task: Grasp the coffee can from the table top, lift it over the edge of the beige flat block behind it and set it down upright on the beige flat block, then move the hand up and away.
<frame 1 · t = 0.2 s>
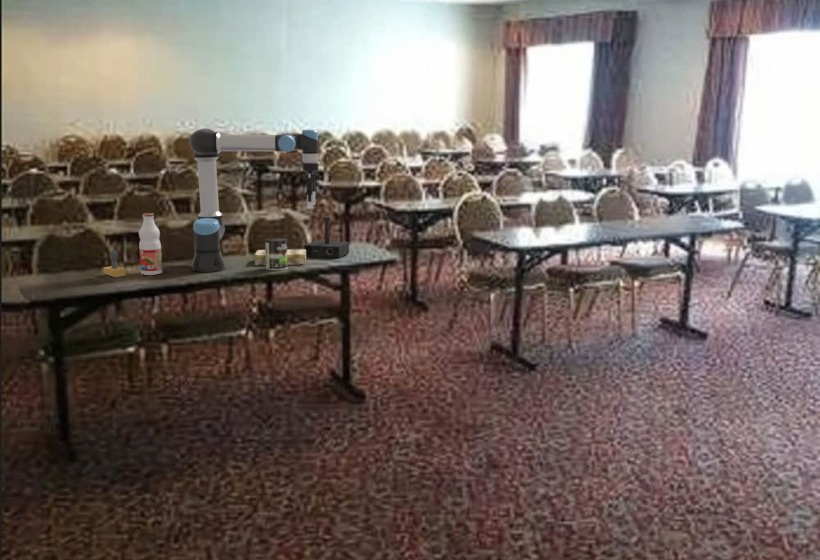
hand: (311, 206, 422), 28 cm above the table, tool pointing down, fingers open, 13 cm apart
rubber stamp: (114, 276, 396), on the table
fruit juice: (151, 274, 399), on the table
coffee can: (276, 268, 414), on the table
beige flat block: (281, 262, 429), on the table
projector: (326, 256, 448), on the table
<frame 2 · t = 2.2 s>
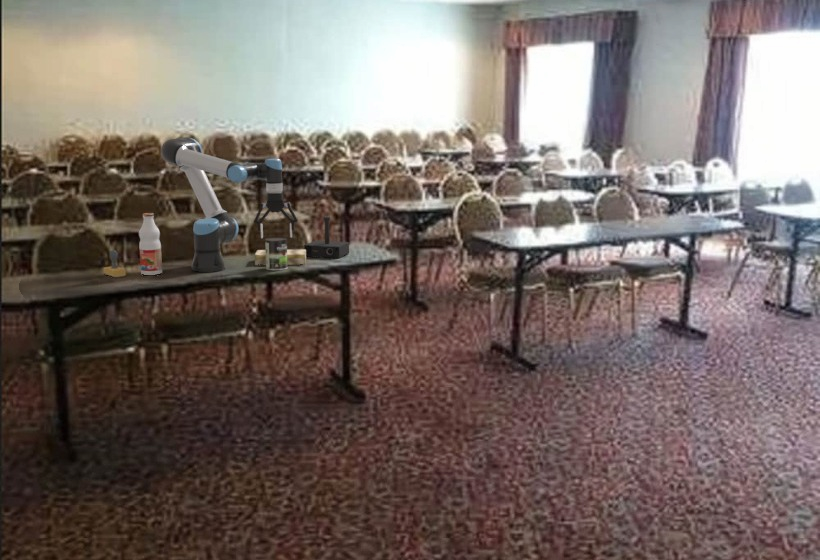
hand: (276, 237, 410), 15 cm above the table, tool pointing down, fingers open, 13 cm apart
nothing on the table moved.
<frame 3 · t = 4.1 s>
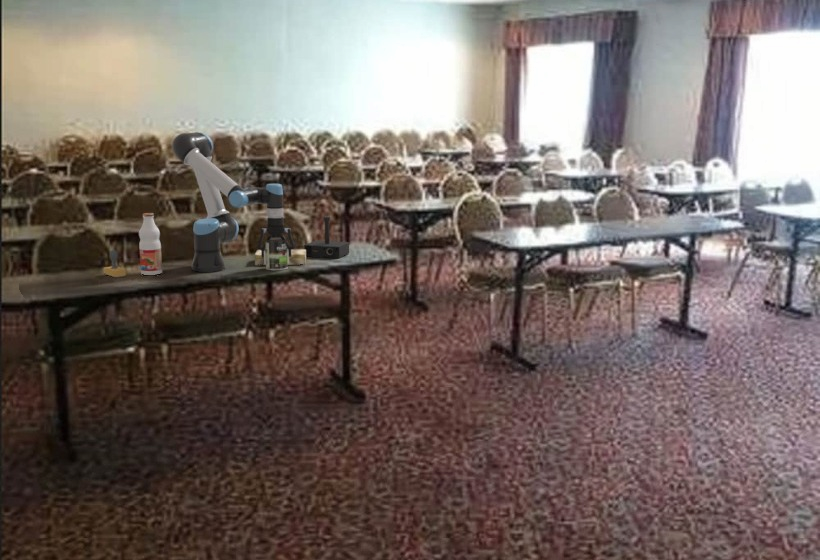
hand: (276, 263, 413), 2 cm above the table, tool pointing down, fingers closed on coffee can, 10 cm apart
coffee can: (276, 268, 414), on the table, touching gripper
everything else where it was.
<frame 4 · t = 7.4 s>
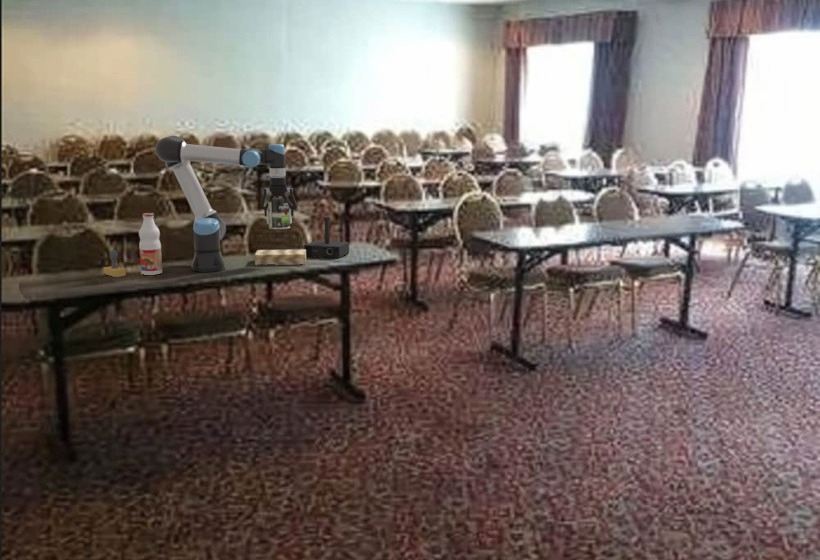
hand: (279, 223, 421), 20 cm above the table, tool pointing down, fingers closed on coffee can, 10 cm apart
coffee can: (279, 228, 422), point 17 cm above the table, touching gripper
everything else where it was.
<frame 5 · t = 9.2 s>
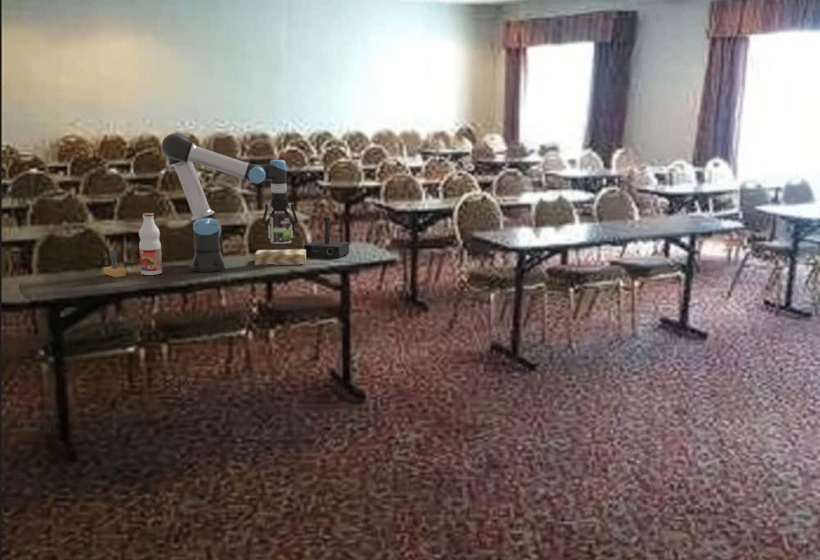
hand: (280, 237, 427), 12 cm above the table, tool pointing down, fingers closed on coffee can, 10 cm apart
coffee can: (280, 242, 427), point 10 cm above the table, touching gripper
everything else where it was.
when the fingers open (9 cm above the table, at t = 10.8 s): coffee can drops 1 cm, resting on beige flat block.
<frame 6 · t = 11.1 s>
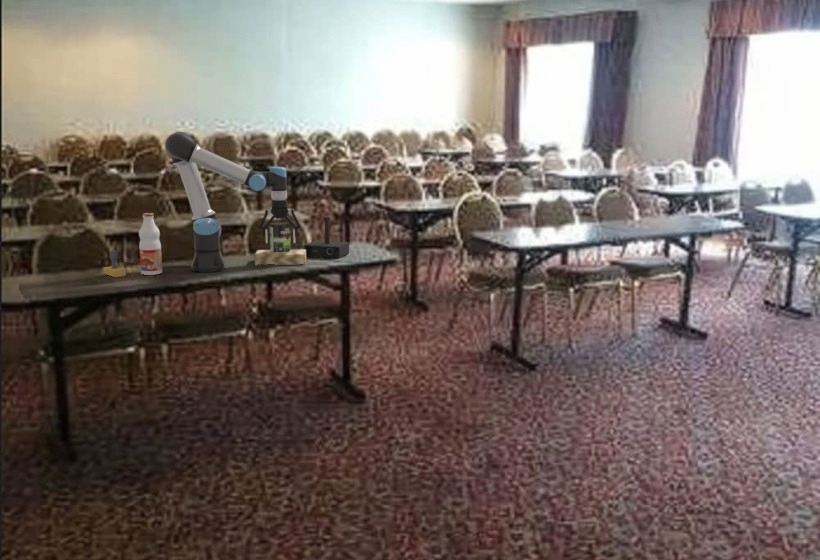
hand: (280, 242, 427), 10 cm above the table, tool pointing down, fingers open, 13 cm apart
coffee can: (280, 252, 428), point 5 cm above the table, touching beige flat block
everything else where it was.
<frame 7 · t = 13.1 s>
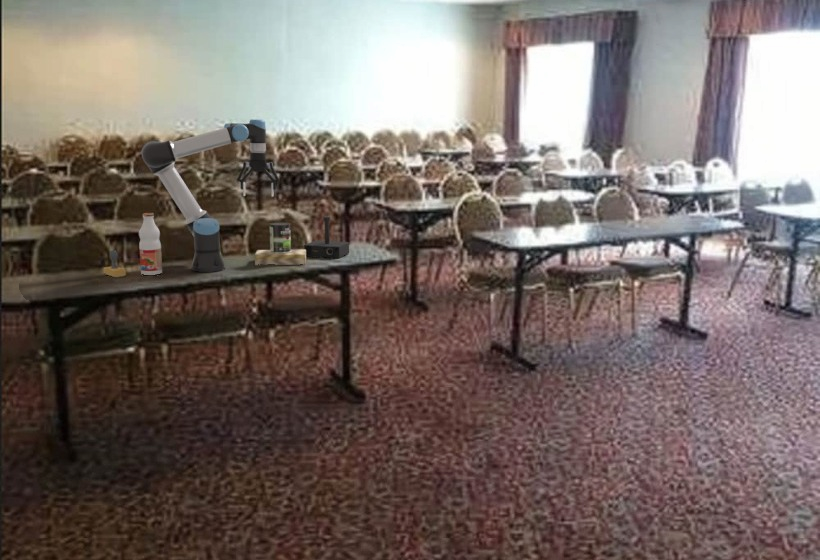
hand: (258, 196, 425), 32 cm above the table, tool pointing down, fingers open, 13 cm apart
nothing on the table moved.
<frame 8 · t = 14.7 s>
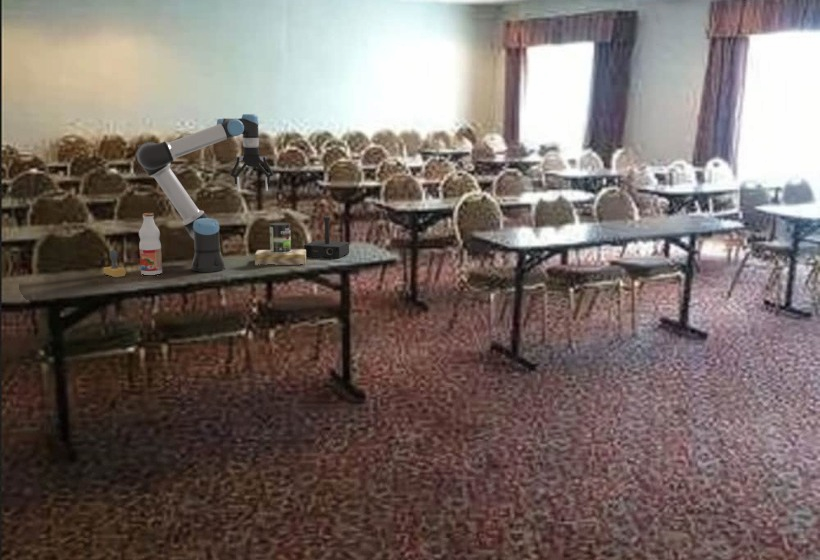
hand: (252, 190, 425), 35 cm above the table, tool pointing down, fingers open, 13 cm apart
nothing on the table moved.
at the end: coffee can inside the target area on the beige flat block (0.0 cm from its centre), point 4.8 cm above the beige flat block's base; coffee can tilted 0°; the gripper is holding nothing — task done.
